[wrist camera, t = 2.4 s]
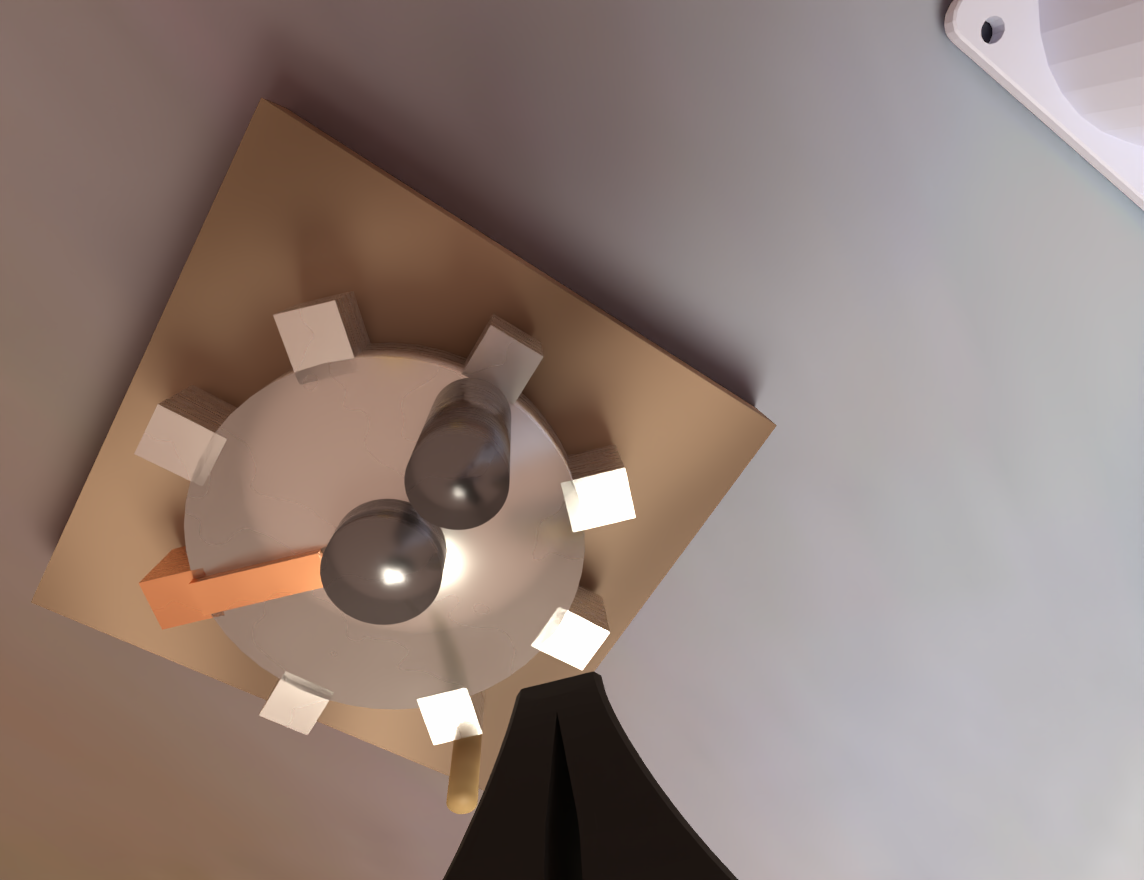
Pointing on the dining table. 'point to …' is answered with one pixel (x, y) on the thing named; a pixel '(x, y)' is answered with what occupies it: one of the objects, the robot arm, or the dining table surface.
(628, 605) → the index board
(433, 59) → the dining table surface
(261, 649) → the sprocket
